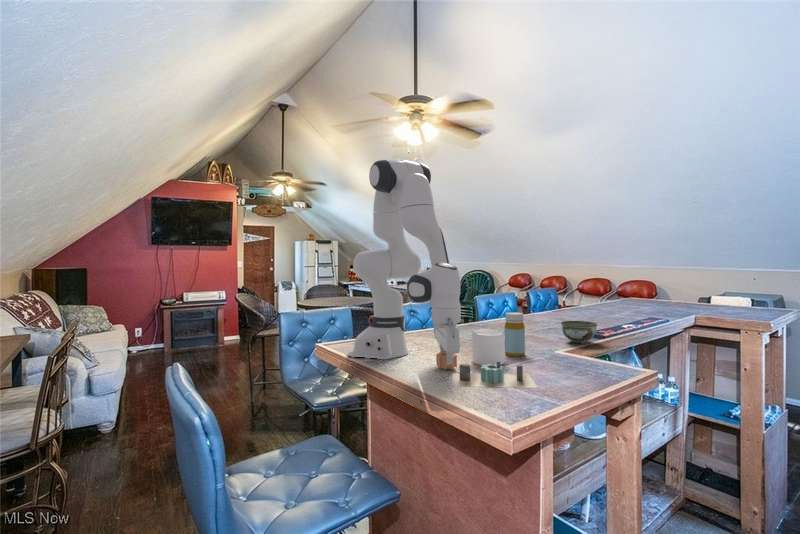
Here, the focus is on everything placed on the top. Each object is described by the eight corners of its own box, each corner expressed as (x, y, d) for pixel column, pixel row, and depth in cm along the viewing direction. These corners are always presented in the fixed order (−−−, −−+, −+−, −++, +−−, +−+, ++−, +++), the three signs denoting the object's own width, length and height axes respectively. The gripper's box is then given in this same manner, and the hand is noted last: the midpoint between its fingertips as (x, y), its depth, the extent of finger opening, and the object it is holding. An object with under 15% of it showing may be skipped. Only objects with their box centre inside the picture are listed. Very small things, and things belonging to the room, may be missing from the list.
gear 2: (484, 383, 105) (483, 365, 105) (478, 376, 111) (478, 359, 111) (506, 383, 105) (506, 364, 105) (499, 376, 111) (499, 358, 111)
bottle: (526, 357, 136) (525, 314, 136) (505, 356, 138) (504, 314, 138) (523, 352, 143) (523, 312, 143) (504, 352, 145) (503, 311, 144)
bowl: (595, 347, 149) (595, 326, 148) (558, 344, 156) (558, 324, 156) (598, 340, 160) (598, 321, 160) (563, 338, 167) (563, 319, 167)
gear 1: (435, 368, 118) (435, 356, 118) (437, 362, 124) (437, 351, 124) (455, 369, 116) (455, 357, 116) (457, 363, 122) (457, 352, 122)
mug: (464, 359, 135) (464, 329, 135) (492, 357, 137) (491, 327, 137) (480, 370, 122) (479, 336, 122) (510, 368, 124) (509, 334, 124)
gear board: (452, 390, 104) (452, 371, 103) (452, 377, 115) (451, 359, 115) (538, 392, 101) (537, 372, 101) (528, 378, 113) (528, 360, 113)
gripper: (465, 322, 109) (465, 370, 110) (448, 310, 130) (448, 351, 130) (443, 322, 109) (443, 371, 109) (430, 311, 129) (430, 352, 130)
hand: (446, 360), depth 120 cm, fingers closed on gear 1, 6 cm apart
